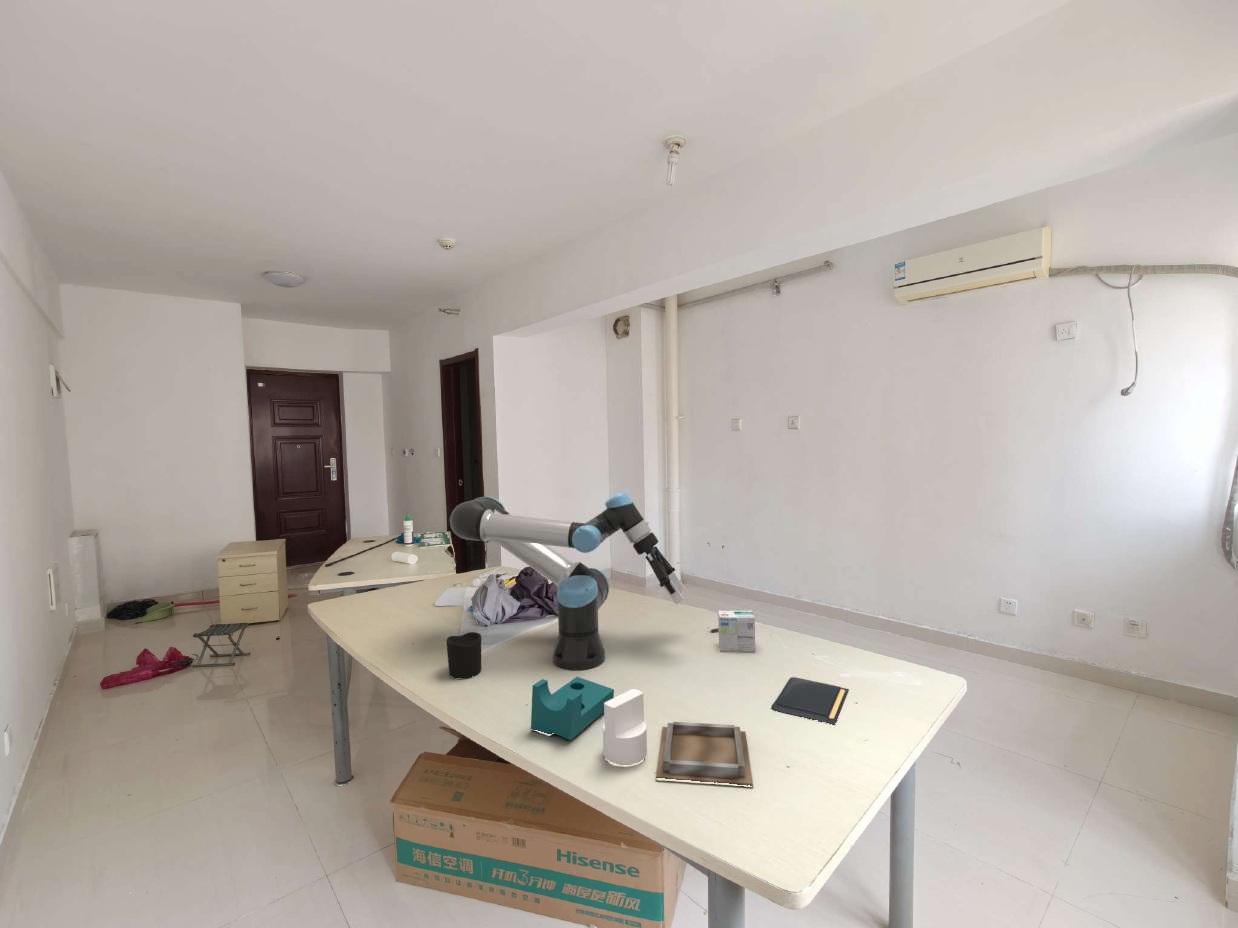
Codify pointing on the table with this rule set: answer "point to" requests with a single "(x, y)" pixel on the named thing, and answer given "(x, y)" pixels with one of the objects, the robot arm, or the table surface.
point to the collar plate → (704, 753)
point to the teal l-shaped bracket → (567, 706)
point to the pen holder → (464, 655)
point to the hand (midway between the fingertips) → (681, 596)
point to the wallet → (811, 700)
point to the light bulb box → (736, 631)
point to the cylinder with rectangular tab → (625, 729)
